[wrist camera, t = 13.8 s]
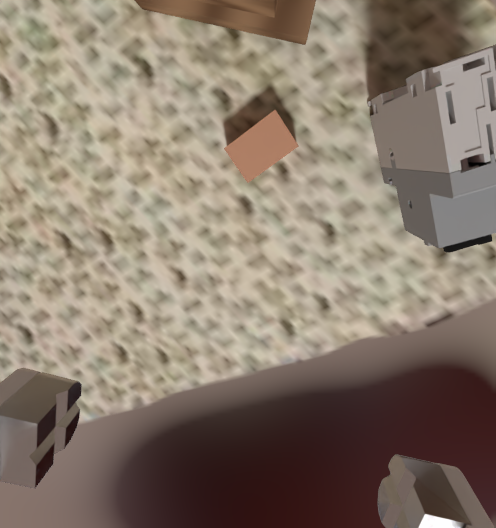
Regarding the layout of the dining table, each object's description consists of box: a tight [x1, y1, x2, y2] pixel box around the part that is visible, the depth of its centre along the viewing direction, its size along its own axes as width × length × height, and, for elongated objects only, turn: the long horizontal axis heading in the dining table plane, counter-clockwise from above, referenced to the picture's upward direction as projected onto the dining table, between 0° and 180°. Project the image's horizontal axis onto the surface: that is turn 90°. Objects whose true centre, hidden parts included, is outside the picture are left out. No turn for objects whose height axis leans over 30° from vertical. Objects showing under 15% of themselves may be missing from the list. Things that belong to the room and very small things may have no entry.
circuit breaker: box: [367, 45, 496, 252], centre depth 29 cm, size 8×14×15 cm, turn 18°
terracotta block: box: [224, 110, 298, 182], centre depth 36 cm, size 6×4×3 cm, turn 125°
